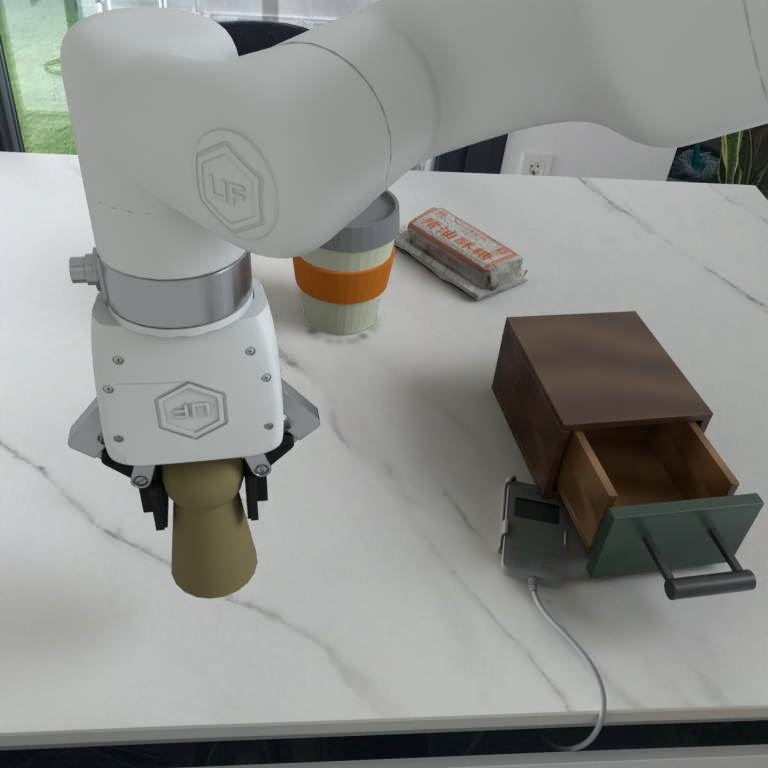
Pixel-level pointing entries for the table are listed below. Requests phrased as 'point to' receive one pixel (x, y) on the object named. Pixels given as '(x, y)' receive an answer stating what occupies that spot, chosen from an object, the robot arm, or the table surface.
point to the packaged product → (461, 254)
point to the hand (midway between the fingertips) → (207, 507)
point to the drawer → (657, 505)
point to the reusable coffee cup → (350, 270)
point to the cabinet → (585, 383)
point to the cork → (209, 527)
